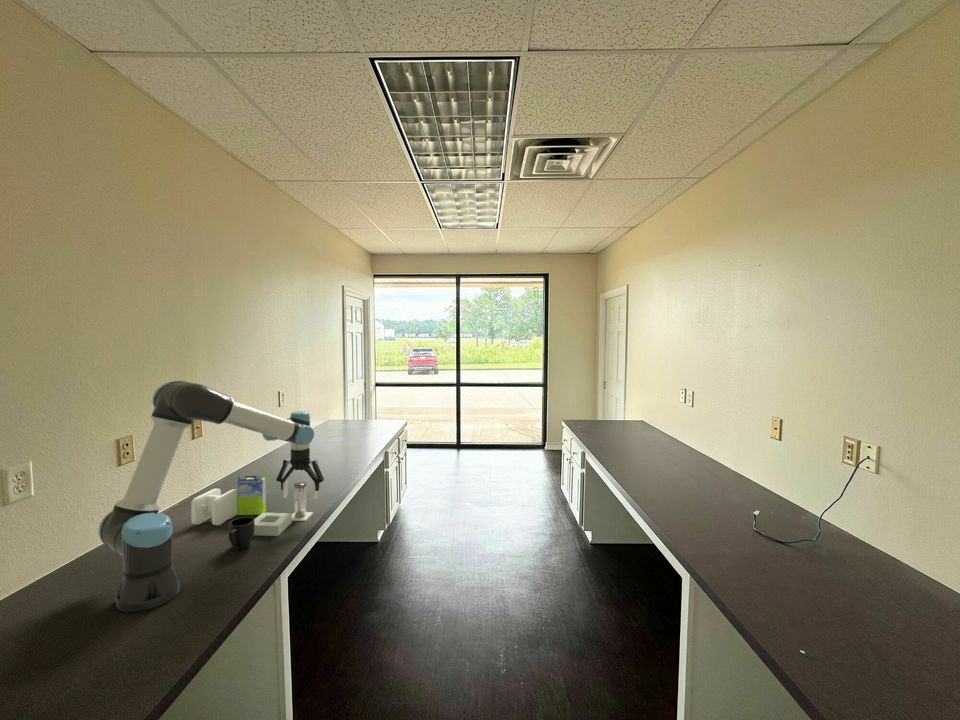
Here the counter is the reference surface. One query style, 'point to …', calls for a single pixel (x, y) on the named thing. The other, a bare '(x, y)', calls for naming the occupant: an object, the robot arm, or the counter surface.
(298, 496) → the brushed metal cylinder
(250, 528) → the mug
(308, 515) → the coaster
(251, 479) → the box
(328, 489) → the counter surface
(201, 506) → the cable organizer
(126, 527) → the robot arm
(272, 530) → the housing
